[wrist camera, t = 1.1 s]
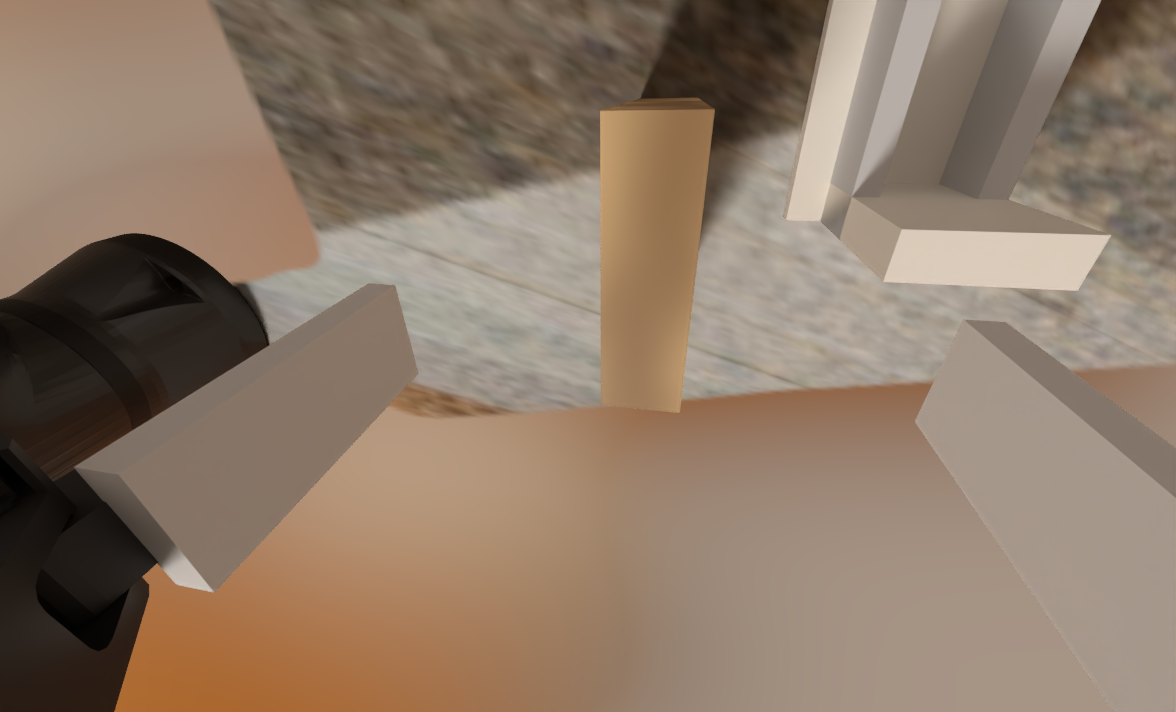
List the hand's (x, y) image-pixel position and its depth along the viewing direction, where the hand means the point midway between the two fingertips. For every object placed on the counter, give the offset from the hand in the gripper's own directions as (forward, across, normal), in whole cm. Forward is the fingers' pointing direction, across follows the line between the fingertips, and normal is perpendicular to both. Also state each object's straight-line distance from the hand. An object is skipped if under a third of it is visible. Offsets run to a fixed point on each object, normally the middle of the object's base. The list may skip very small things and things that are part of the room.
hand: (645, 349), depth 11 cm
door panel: (+18, 0, 0) cm, 18 cm away
